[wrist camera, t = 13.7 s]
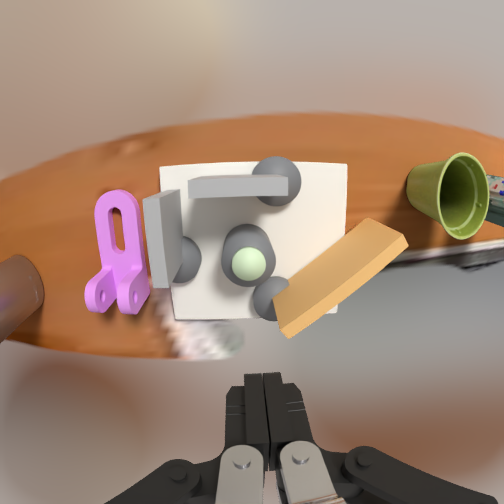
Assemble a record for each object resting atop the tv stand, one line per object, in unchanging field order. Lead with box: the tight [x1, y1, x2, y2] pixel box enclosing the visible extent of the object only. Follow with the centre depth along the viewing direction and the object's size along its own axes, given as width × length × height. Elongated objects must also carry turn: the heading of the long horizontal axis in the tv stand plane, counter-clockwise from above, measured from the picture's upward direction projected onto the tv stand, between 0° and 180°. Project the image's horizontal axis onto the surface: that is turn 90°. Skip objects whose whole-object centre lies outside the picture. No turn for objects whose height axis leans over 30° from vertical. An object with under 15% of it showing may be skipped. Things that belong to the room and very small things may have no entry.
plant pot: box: [406, 153, 489, 239], centre depth 26 cm, size 9×9×9 cm
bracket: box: [85, 190, 150, 314], centre depth 28 cm, size 13×6×7 cm, turn 1°
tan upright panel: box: [253, 217, 409, 339], centre depth 27 cm, size 16×5×8 cm, turn 129°
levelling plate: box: [143, 156, 347, 319], centre depth 27 cm, size 21×18×10 cm
